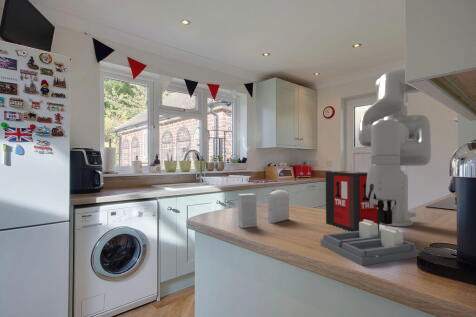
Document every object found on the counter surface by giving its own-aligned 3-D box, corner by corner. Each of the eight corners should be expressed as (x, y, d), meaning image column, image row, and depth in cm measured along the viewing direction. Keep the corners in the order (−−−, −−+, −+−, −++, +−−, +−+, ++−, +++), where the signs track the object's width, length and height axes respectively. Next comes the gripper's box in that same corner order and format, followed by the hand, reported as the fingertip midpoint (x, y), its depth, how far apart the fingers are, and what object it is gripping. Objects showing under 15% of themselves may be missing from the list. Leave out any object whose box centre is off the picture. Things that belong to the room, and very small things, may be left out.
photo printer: (275, 223, 102) (274, 191, 102) (266, 221, 105) (266, 190, 105) (290, 219, 109) (290, 189, 109) (282, 217, 112) (282, 188, 112)
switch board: (370, 238, 82) (370, 228, 82) (419, 256, 67) (419, 244, 67) (320, 244, 77) (320, 234, 77) (361, 265, 61) (361, 252, 61)
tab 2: (389, 244, 72) (389, 225, 72) (403, 248, 68) (403, 228, 68) (381, 245, 71) (381, 226, 71) (394, 250, 67) (394, 229, 67)
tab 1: (367, 236, 79) (367, 218, 79) (378, 239, 76) (377, 221, 76) (359, 237, 78) (359, 219, 78) (369, 241, 75) (369, 222, 75)
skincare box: (252, 224, 101) (252, 193, 101) (257, 226, 97) (256, 194, 97) (237, 225, 100) (237, 193, 100) (241, 228, 96) (241, 195, 96)
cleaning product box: (379, 232, 89) (378, 173, 90) (358, 234, 86) (358, 173, 87) (344, 221, 105) (344, 171, 105) (326, 223, 102) (325, 171, 102)
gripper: (393, 162, 85) (393, 219, 84) (355, 161, 80) (355, 222, 80) (415, 162, 78) (416, 224, 77) (375, 161, 73) (375, 227, 73)
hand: (385, 223), depth 78 cm, fingers closed
